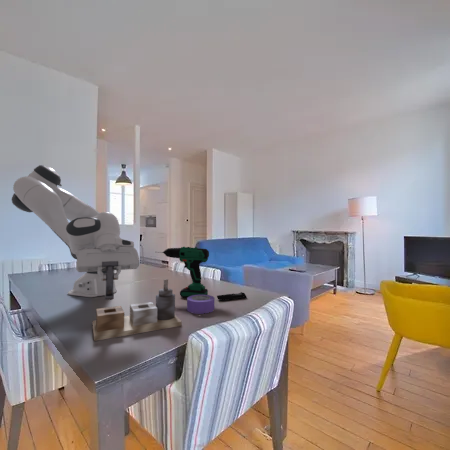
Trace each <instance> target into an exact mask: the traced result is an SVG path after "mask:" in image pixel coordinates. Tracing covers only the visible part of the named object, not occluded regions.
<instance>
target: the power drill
mask: <svg viewBox="0 0 450 450" xmlns="http://www.w3.org/2000/svg"><path fill="white" fill-rule="evenodd" d="M156 253H161V254H163V255H165V257H167V258H173V259H179V261H180V263H182V262H183V263H184V267H183V268H184V269H187V270H188V271H189V275H190V277H191V281H192V283H190V284H189V285H187V287H184V288H182V289H181V290H180V291H179V296H180V297H181V298H185V299H187V298H188V297H189V296H192V295H209V294H208V291H209V290H208V289H207V288H206V286H205V285H204V284H203V283H202V273H201V268H200V264H202V263H207V262H208V259H209V258H210V257H209V256H210V251H209V250H208V249H206V248H201V247H197V246H195V247H191V246H187V247H186V246H181V247H172V248H171V247H170V248H167V249H165V250H164V251H156Z"/></svg>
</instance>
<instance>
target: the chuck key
mask: <svg viewBox="0 0 450 450" xmlns="http://www.w3.org/2000/svg"><path fill="white" fill-rule="evenodd" d="M116 266H118V261H107V262H102V267H106V295H104V300H106V301H110V300H111V301H112V300H114V298H115V294H114V293H113V285H114V282H115V280H114V273H115V271H114V267H116Z"/></svg>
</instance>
